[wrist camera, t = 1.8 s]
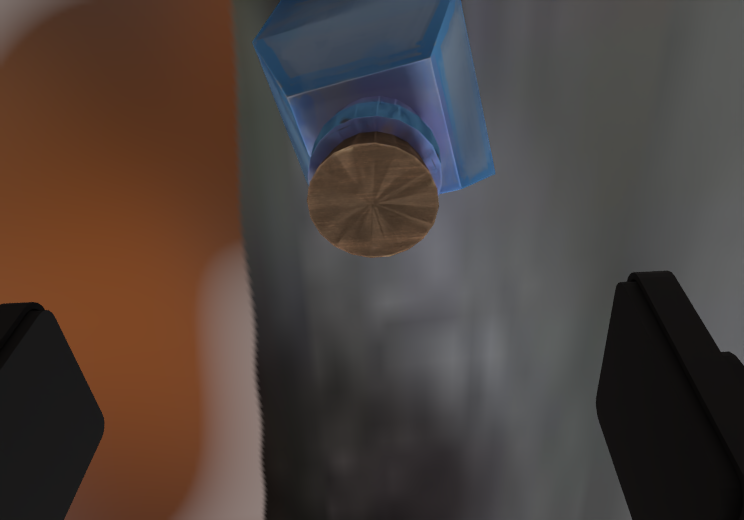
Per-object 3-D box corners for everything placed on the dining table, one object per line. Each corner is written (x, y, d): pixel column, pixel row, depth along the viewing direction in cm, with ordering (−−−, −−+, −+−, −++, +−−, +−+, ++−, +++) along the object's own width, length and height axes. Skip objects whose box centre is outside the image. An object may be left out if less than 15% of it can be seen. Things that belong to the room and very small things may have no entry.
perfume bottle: (335, 140, 27) (296, 323, 17) (284, -6, 24) (200, 117, 14) (477, 104, 26) (521, 278, 16) (445, -55, 23) (475, 41, 13)
